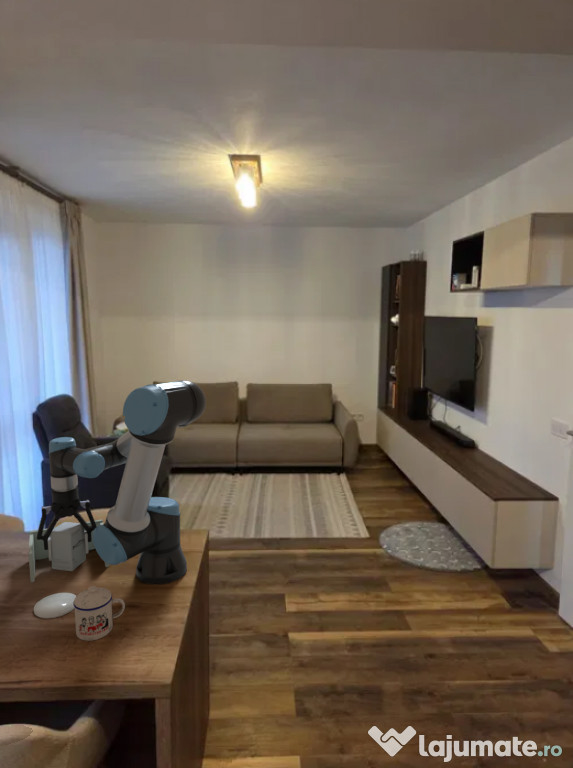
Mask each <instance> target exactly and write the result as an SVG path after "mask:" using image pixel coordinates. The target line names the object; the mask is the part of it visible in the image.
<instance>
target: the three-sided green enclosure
mask: <svg viewBox="0 0 573 768" xmlns="http://www.w3.org/2000/svg"><path fill="white" fill-rule="evenodd" d="M86 522H87V524H88V525H89V526H92V525H91V523H90V520H89V521H86ZM95 523H96V526H97V527H98V526H99V525H103V524H104V520H103V519H97V520H95ZM56 527H57V526H55V527H54V528H56ZM46 530H47V528H44V529H43V533H42V534H45V532H46ZM84 531H86V530H85V529H84ZM37 532H38V529H35V530H30V531H29V541H28V542H29V543H28V563H29V578H30V583H35V581H36V580H35V576H36V575H35V574H36V573H35V572H36V571H35V570H36V561H37V560H38V561H39V560H43V559H49V552H48V550H45V549H44V541H43V540H37ZM93 532H94V531H92V532H91V539H92V540H91V542H88V551H92V550H96V548H95V546H94V542H93ZM49 537H50V536H49ZM103 561H104V560H103ZM104 566H105V568H108V567H110V564H108V563H106V562H105V561H104Z"/></svg>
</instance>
